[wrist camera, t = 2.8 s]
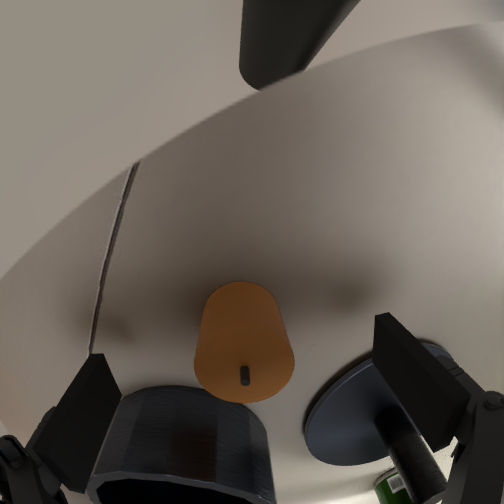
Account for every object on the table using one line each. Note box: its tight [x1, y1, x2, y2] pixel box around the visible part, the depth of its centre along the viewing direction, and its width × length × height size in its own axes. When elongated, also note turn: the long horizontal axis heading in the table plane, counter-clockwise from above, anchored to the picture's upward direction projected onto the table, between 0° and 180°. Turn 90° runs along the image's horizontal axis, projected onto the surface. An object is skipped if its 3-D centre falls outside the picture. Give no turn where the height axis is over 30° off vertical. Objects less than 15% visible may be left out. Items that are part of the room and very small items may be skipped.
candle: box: [194, 281, 294, 403], centre depth 14 cm, size 4×4×6 cm
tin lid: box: [305, 343, 454, 504], centre depth 15 cm, size 14×14×10 cm
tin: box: [86, 386, 277, 504], centre depth 16 cm, size 13×13×8 cm
